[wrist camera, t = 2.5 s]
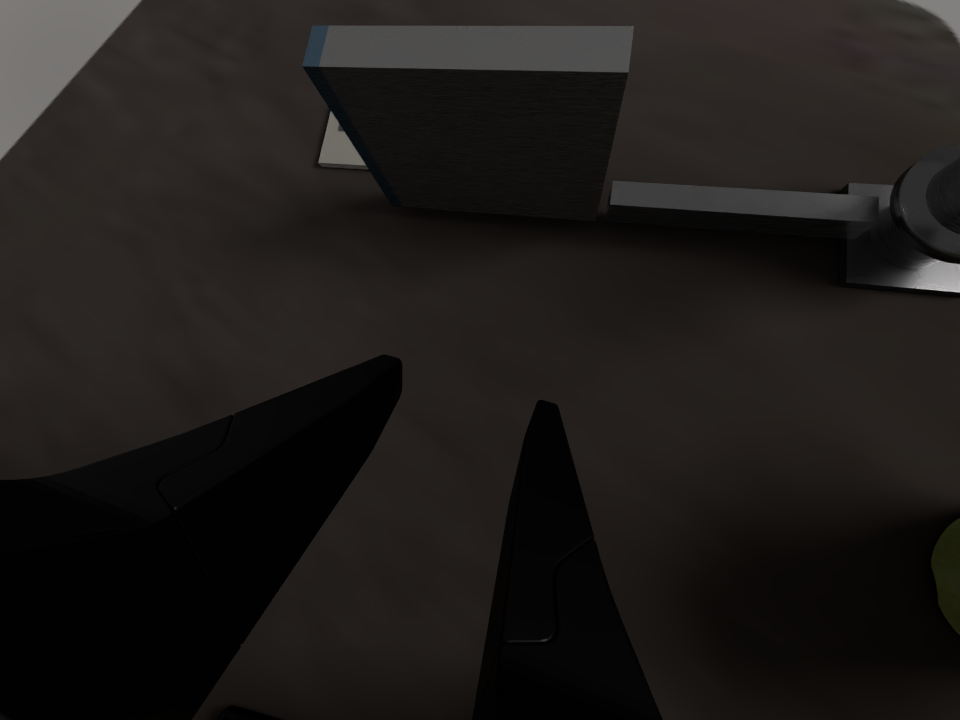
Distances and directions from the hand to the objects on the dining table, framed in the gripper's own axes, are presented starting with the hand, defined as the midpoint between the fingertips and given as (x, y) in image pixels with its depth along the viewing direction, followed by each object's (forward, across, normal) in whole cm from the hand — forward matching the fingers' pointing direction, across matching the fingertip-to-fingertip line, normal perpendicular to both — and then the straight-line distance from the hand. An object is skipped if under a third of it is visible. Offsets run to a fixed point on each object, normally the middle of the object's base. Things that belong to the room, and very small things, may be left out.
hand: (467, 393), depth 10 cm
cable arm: (+16, -2, 0) cm, 16 cm away
